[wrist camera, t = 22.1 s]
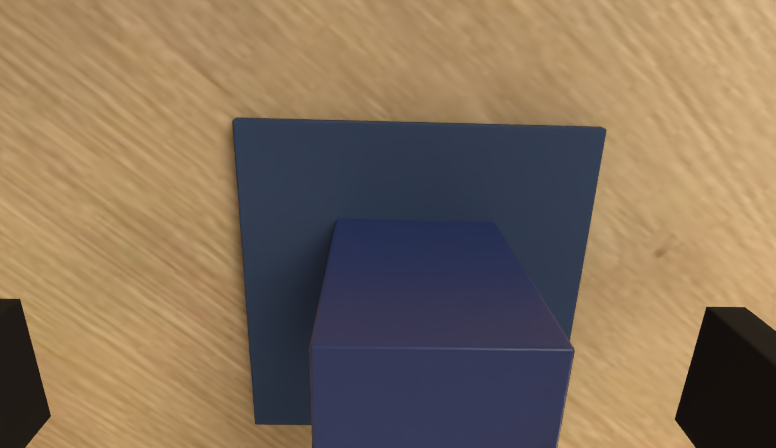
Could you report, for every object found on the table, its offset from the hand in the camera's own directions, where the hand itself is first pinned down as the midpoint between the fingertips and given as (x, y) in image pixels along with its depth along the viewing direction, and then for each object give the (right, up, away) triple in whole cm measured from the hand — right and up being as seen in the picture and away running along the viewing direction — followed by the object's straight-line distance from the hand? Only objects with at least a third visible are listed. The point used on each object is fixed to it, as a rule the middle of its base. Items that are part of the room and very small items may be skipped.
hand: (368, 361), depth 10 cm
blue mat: (+1, +1, +7) cm, 7 cm away
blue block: (+1, +1, +7) cm, 7 cm away
